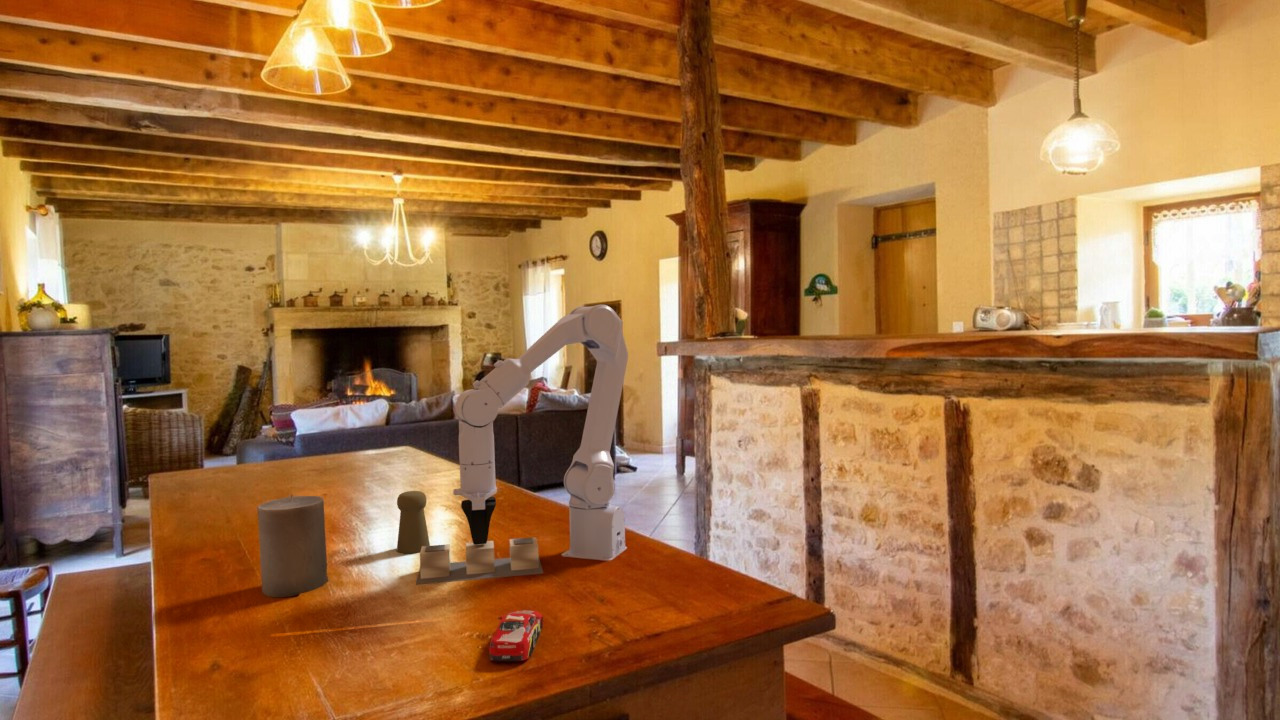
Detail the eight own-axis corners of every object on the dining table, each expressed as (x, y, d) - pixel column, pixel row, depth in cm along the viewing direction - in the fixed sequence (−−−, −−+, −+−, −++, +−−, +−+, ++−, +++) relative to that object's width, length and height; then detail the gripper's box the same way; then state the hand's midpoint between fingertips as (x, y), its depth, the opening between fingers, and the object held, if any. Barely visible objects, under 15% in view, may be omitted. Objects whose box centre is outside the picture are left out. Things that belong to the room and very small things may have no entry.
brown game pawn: (420, 556, 135) (418, 495, 135) (389, 555, 137) (387, 495, 136) (436, 547, 141) (434, 488, 141) (406, 545, 143) (404, 488, 142)
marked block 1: (450, 567, 127) (449, 543, 127) (449, 576, 123) (448, 550, 123) (422, 570, 126) (421, 545, 126) (420, 578, 122) (419, 553, 122)
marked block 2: (536, 560, 131) (535, 536, 130) (538, 568, 126) (538, 543, 126) (510, 562, 130) (509, 538, 129) (511, 570, 125) (510, 545, 125)
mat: (538, 557, 133) (538, 555, 133) (543, 575, 124) (543, 573, 124) (420, 567, 129) (420, 565, 129) (416, 586, 119) (415, 584, 119)
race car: (507, 625, 104) (506, 596, 104) (546, 625, 104) (546, 596, 104) (482, 667, 91) (481, 634, 91) (527, 668, 91) (526, 634, 90)
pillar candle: (341, 580, 124) (337, 488, 123) (296, 600, 114) (291, 501, 114) (294, 575, 127) (289, 486, 126) (246, 595, 118) (241, 499, 117)
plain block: (494, 563, 129) (493, 540, 129) (494, 572, 125) (493, 548, 124) (466, 566, 128) (466, 542, 128) (466, 574, 124) (465, 550, 124)
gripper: (453, 456, 132) (456, 533, 132) (450, 471, 118) (454, 558, 118) (495, 454, 133) (497, 530, 134) (497, 468, 119) (500, 554, 120)
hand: (480, 543), depth 126 cm, fingers closed
